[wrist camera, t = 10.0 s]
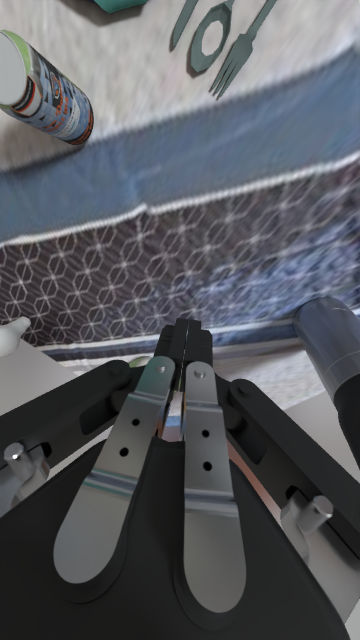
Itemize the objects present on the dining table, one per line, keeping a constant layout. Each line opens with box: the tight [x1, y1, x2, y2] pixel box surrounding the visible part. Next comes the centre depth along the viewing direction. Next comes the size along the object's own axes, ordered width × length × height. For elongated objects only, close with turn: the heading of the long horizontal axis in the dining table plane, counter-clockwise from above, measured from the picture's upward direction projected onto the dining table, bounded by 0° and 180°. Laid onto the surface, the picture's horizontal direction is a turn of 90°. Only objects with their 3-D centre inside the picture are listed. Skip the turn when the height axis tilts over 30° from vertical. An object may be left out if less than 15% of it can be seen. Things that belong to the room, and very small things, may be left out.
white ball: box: [136, 357, 152, 367], centre depth 51 cm, size 6×6×6 cm
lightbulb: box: [0, 317, 31, 357], centre depth 46 cm, size 6×6×11 cm
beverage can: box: [0, 30, 94, 145], centre depth 25 cm, size 6×7×12 cm
